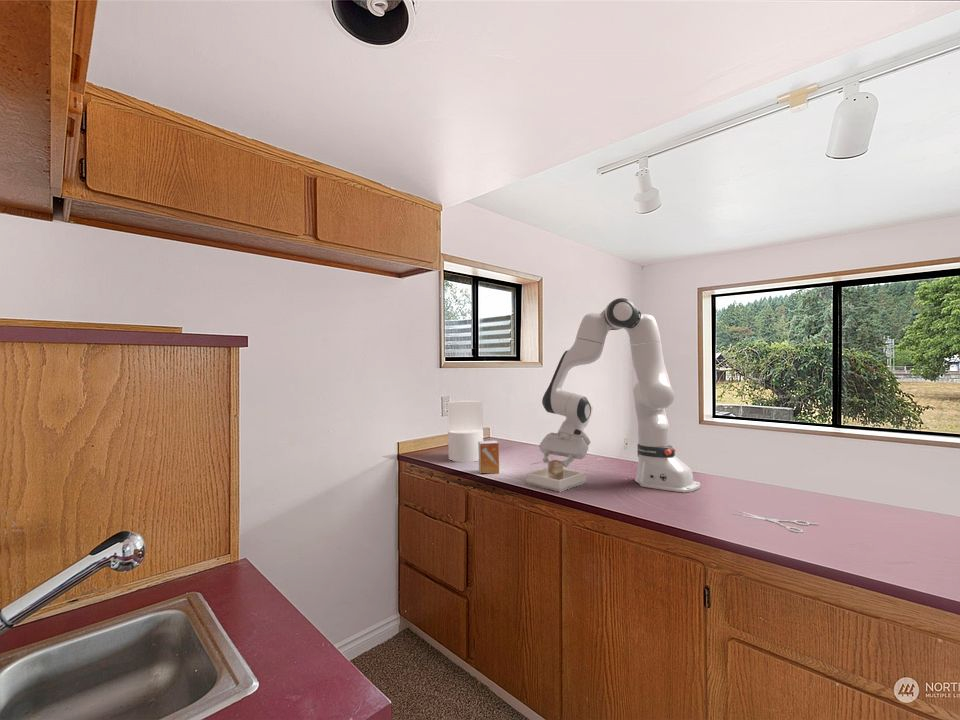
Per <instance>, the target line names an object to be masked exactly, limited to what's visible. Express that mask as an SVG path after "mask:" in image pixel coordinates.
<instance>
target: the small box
mask: <svg viewBox="0 0 960 720" xmlns="http://www.w3.org/2000/svg"><path fill="white" fill-rule="evenodd" d="M499 445H500V444H499V442H498V441H497V440H483V441H478V451H479V461H478V471H480V472H479V474H481V473H494V474H500V446H499Z"/></svg>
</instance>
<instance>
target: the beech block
mask: <svg viewBox="0 0 960 720" xmlns="http://www.w3.org/2000/svg"><path fill="white" fill-rule="evenodd" d="M563 461H564V460H563ZM563 461H562V460H557V459H553V460H549V461H548V463H547V468H548V478H552V479H556V480H561V479H563V468H564V466H563V465H562V463H563Z"/></svg>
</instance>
